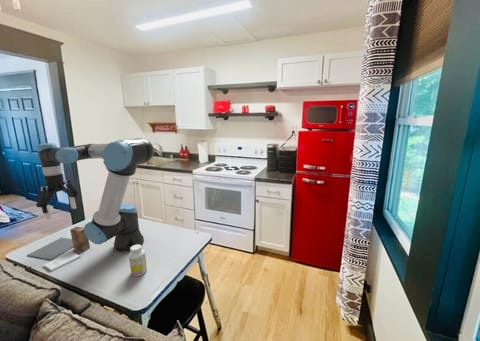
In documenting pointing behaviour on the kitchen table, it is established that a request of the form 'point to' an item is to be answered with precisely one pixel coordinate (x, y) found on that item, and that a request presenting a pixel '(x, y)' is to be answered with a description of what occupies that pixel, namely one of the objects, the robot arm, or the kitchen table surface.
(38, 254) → the mat
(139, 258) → the supplement bottle
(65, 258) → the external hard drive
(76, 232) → the brown box
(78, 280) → the kitchen table surface
